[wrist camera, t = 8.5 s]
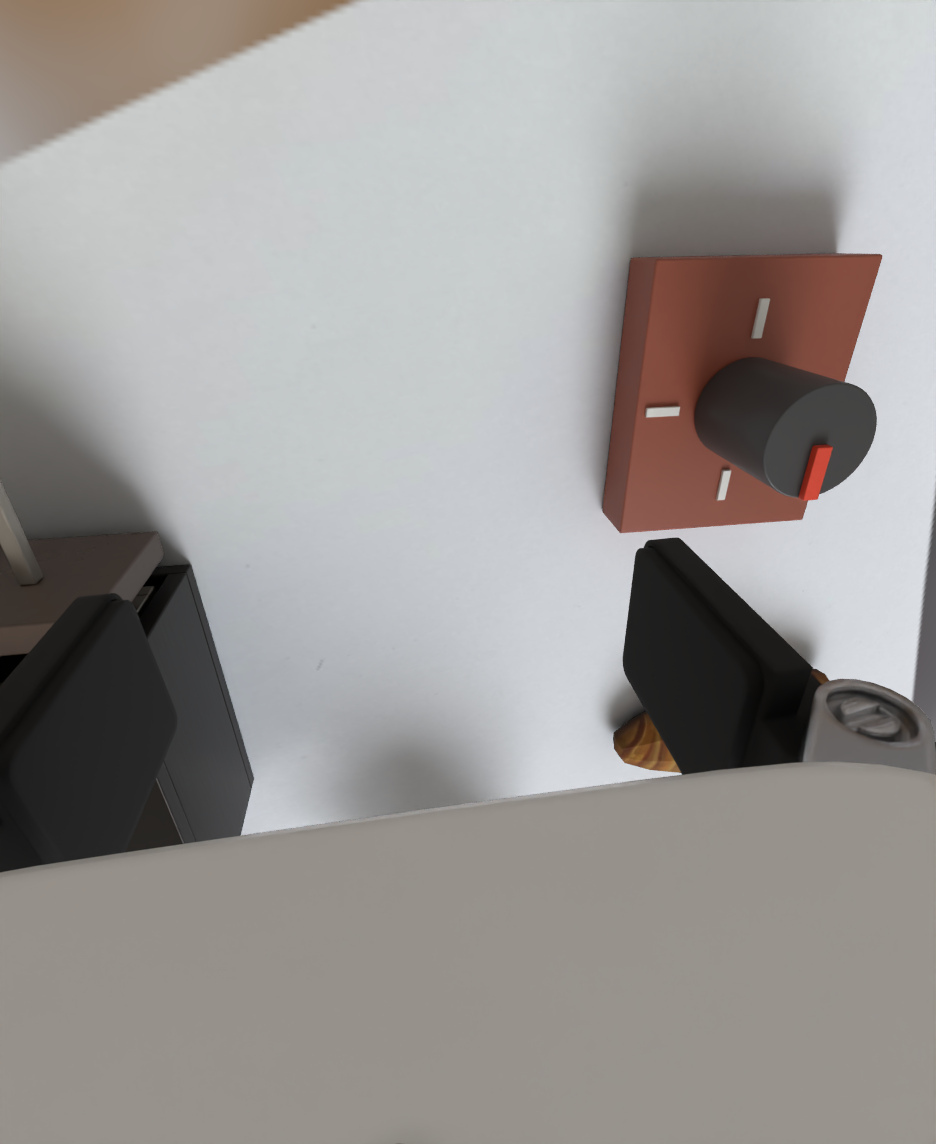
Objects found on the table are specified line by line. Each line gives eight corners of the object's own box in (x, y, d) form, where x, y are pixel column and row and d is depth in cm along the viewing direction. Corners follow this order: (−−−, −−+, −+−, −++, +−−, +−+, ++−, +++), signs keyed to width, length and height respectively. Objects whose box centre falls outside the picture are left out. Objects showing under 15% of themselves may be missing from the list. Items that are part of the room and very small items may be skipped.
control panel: (630, 257, 23) (658, 258, 20) (838, 253, 24) (887, 254, 21) (601, 511, 28) (621, 535, 26) (771, 500, 29) (805, 521, 27)
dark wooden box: (-131, 587, 25) (-344, 730, 18) (191, 563, 27) (118, 686, 19) (7, 806, 32) (-103, 972, 25) (254, 778, 34) (219, 927, 26)
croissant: (815, 626, 34) (879, 681, 30) (812, 705, 37) (869, 765, 33) (598, 695, 34) (629, 759, 30) (615, 767, 38) (645, 834, 33)
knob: (702, 359, 22) (785, 389, 18) (797, 354, 23) (901, 380, 18) (686, 457, 24) (756, 506, 20) (773, 450, 25) (862, 496, 20)
